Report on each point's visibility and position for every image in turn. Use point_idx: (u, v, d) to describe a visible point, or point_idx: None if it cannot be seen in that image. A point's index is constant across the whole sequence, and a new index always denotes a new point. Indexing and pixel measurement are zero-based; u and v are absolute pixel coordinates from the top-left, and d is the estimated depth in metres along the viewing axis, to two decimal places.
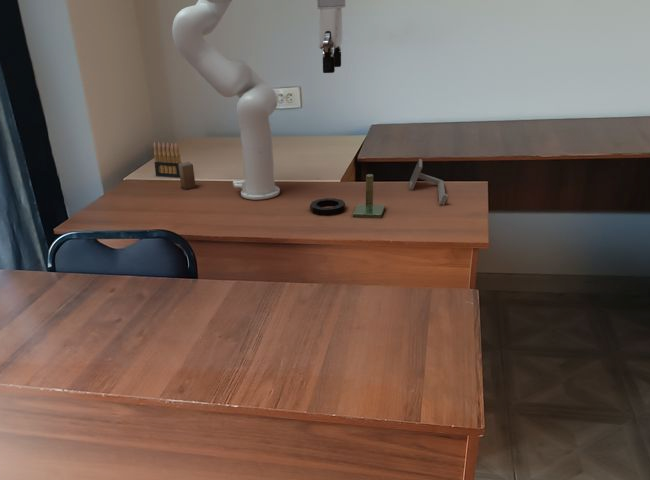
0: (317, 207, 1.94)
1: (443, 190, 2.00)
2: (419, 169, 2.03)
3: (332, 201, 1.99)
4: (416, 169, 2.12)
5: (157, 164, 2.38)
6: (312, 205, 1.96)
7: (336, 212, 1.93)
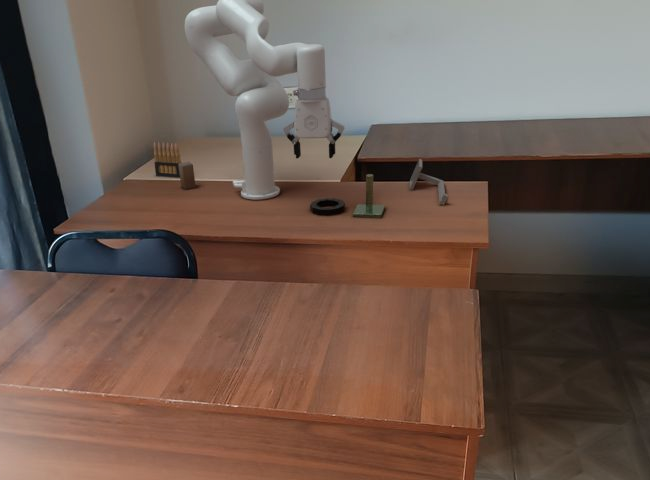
0: (317, 207, 1.94)
1: (443, 190, 2.00)
2: (419, 169, 2.03)
3: (332, 201, 1.99)
4: (416, 169, 2.12)
5: (157, 164, 2.38)
6: (312, 205, 1.96)
7: (336, 212, 1.93)
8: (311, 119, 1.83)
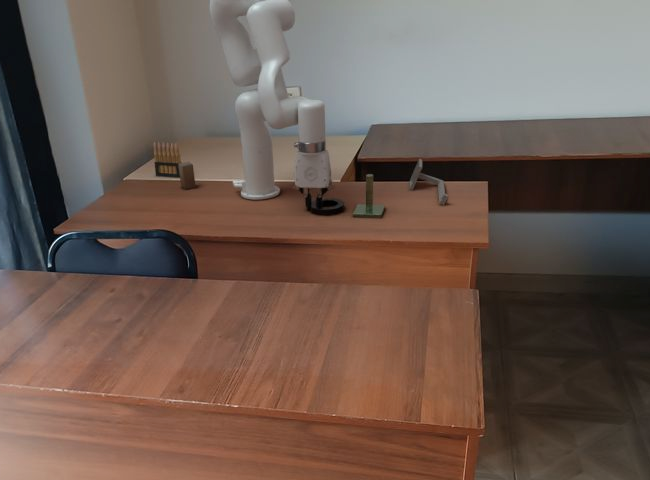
0: (316, 207, 1.94)
1: (443, 190, 2.00)
2: (419, 169, 2.03)
3: (331, 201, 1.99)
4: (416, 169, 2.12)
5: (157, 164, 2.38)
6: (311, 205, 1.96)
7: (335, 212, 1.93)
8: (311, 170, 1.90)
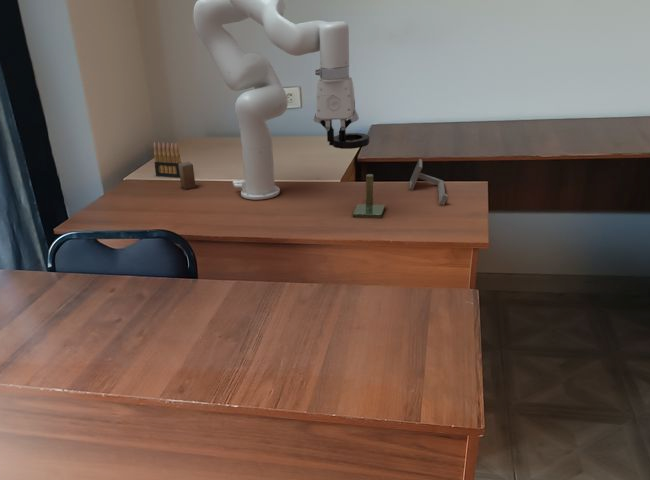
0: (339, 140, 1.81)
1: (443, 190, 2.00)
2: (419, 169, 2.03)
3: (355, 136, 1.86)
4: (416, 169, 2.12)
5: (157, 164, 2.38)
6: (334, 139, 1.83)
7: (360, 145, 1.80)
8: (333, 99, 1.77)
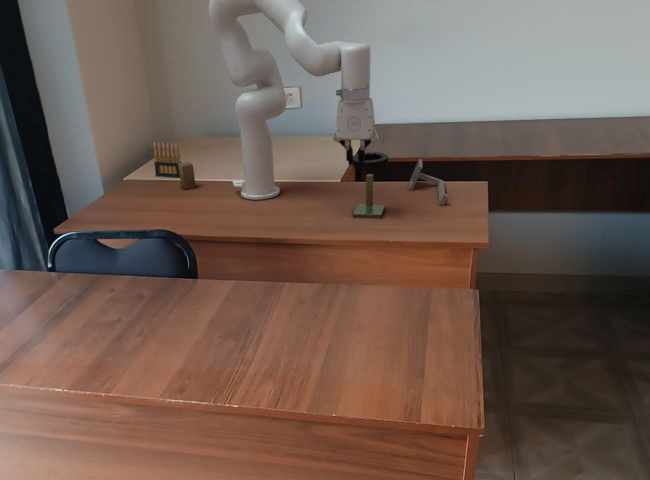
0: (359, 160, 1.82)
1: (443, 190, 2.00)
2: (419, 169, 2.03)
3: (374, 155, 1.87)
4: (416, 169, 2.12)
5: (157, 164, 2.38)
6: (353, 159, 1.84)
7: (380, 165, 1.81)
8: (354, 120, 1.78)
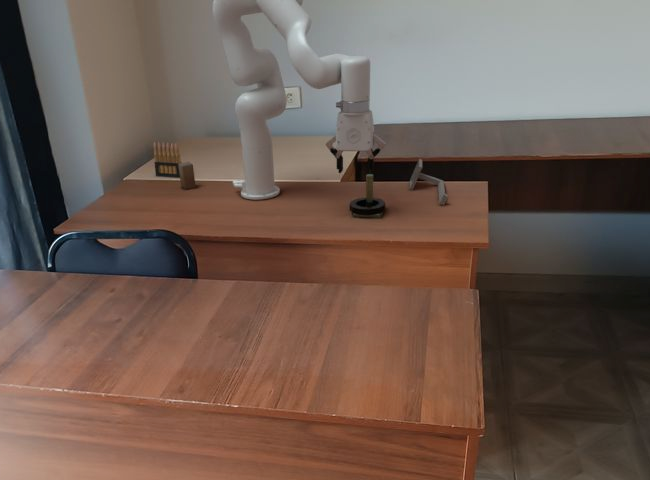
0: (357, 207, 1.89)
1: (443, 190, 2.00)
2: (419, 169, 2.03)
3: None
4: (416, 169, 2.12)
5: (157, 164, 2.38)
6: (352, 205, 1.91)
7: (377, 212, 1.88)
8: (354, 132, 1.80)
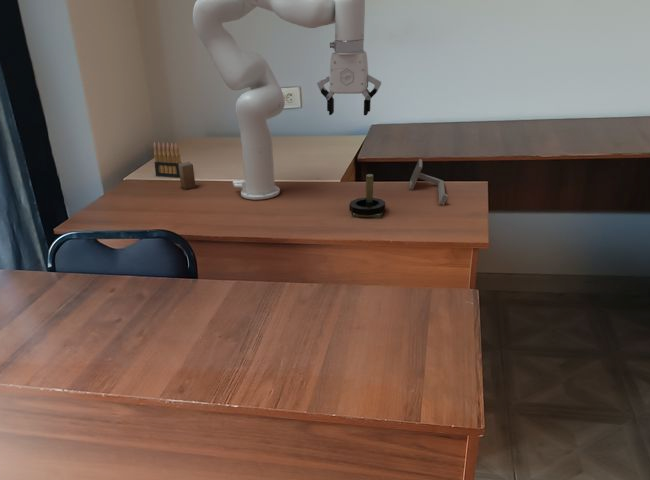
0: (357, 207, 1.89)
1: (443, 190, 2.00)
2: (419, 169, 2.03)
3: None
4: (416, 169, 2.12)
5: (157, 164, 2.38)
6: (352, 205, 1.91)
7: (377, 212, 1.88)
8: (347, 73, 1.76)
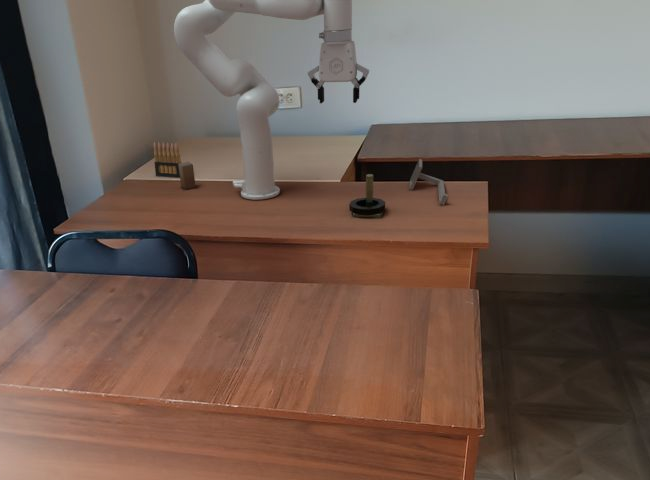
0: (357, 207, 1.89)
1: (443, 190, 2.00)
2: (419, 169, 2.03)
3: None
4: (416, 169, 2.12)
5: (157, 164, 2.38)
6: (352, 205, 1.91)
7: (377, 212, 1.88)
8: (336, 62, 1.83)
